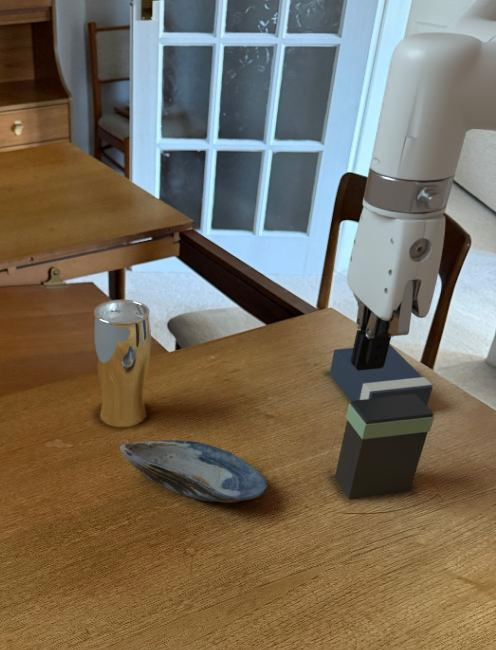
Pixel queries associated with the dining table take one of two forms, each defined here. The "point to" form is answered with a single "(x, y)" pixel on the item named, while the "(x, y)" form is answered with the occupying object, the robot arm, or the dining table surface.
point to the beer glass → (122, 359)
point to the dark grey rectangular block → (382, 445)
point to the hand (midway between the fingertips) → (366, 365)
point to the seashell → (196, 470)
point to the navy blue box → (378, 378)
